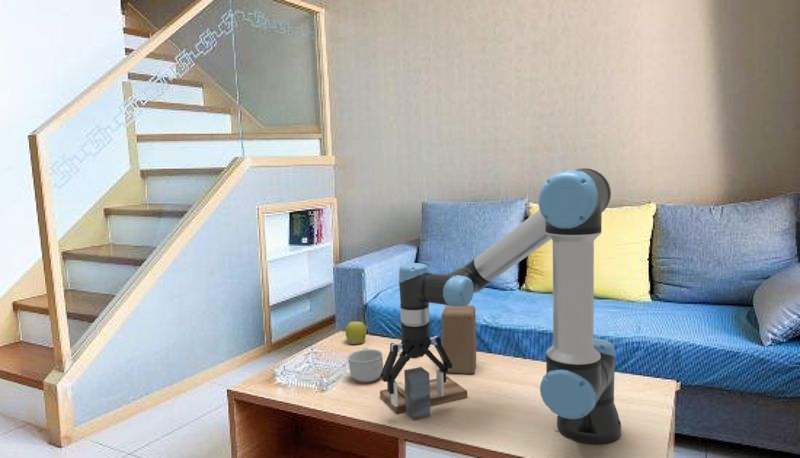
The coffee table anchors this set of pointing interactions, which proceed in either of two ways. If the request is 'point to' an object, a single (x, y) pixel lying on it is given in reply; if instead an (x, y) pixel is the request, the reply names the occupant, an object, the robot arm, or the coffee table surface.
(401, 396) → the board
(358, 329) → the apple
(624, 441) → the coffee table surface
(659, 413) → the coffee table surface
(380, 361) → the teacup
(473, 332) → the wooden block
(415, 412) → the grey block
